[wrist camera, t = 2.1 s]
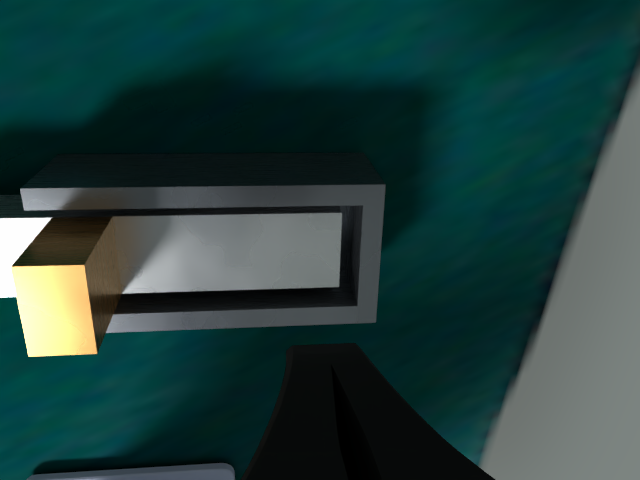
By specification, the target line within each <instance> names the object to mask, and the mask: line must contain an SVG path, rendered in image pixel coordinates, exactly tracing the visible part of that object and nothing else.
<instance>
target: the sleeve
mask: <svg viewBox="0 0 640 480" xmlns="http://www.w3.org/2000/svg"><path fill="white" fill-rule="evenodd" d="M385 186H386V184H385V183H384V181H383V180H382V178H381V177H380V176H379V174H378V173H377V171H376V170H375V168H374V167H373V165H372V164H371V162H370V161H369V160H368V158H367V157H366V155H365V154H364V153H202V154H58V155H57V156H56V157H55V158H54V159H53V160H51V161H50V162H49V163H48V164H47V165H46V166H45V167H44V168H42V169H41V170H40V171H39V172H38V173H37V174H36V175H35V176H34V177H32V178H31V179H30V180H29V181H28V182H27V183H26V184H25V185H23V186H22V187H21V188H20V191H21V197H22V202H23V208H24V210H89V209H155V208H221V207H287V206H340V209H341V211H342V228H341V252H340V277H339V287H321V288H289V289H256V290H223V291H190V292H157V293H124V294H121V297H120V299H119V302H118V304H117V307H116V309H115V311H114V314H113V316H112V319H111V321H110V324H109V326H108V329H107V331H106V333H113V332H140V331H167V330H194V329H220V328H247V327H274V326H301V325H327V324H354V323H376V315H377V300H378V286H379V272H380V258H381V243H382V229H383V215H384V201H385Z"/></svg>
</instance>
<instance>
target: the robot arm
mask: <svg viewBox="0 0 640 480" xmlns="http://www.w3.org/2000/svg"><path fill="white" fill-rule="evenodd" d="M27 480H235V471H234V468H233V467H232V466H231V465H229V464H227V463H213V464H196V465H180V466H164V467H148V468H132V469H116V470H100V471H84V472H67V473H51V474H36V475H32V476H30V477H29V478H27ZM241 480H495V479H494V478H492V477H491V476H490V475H488V474H487V473H486V472H484V471H483V470H482V469H480V468H479V467H478V466H477V465H475V464H474V463H473V462H472V461H470V460H469V459H468V458H466V457H465V456H464V455H463V454H461V453H460V452H459V451H457V450H456V449H455V448H454V447H453V446H452V445H450V444H449V443H448V442H447V441H446V440H445V439H444V438H443V437H441V436H440V435H439V434H438V433H437V432H436V431H435V430H434V429H433V428H432V427H431V426H430V425H429V424H428V423H427V422H426V421H425V420H424V419H423V418H422V417H421V416H420V415H419V414H418V413H417V412H416V411H415V410H414V409H413V408H412V407H411V406H410V405H409V404H408V403H407V402H406V401H405V400H404V399H403V398H402V397H401V396H400V395H399V393H398V392H397V391H396V390H395V389H394V388H393V387H392V386H391V385H390V383H389V382H388V381H387V380H386V379H385V378H384V376H383V375H382V374H381V373H380V372H379V371H378V369H377V368H376V367H375V366H374V365H373V363H372V362H371V361H370V360H369V358H368V357H367V356H366V355H365V353H364V352H363V351H362V350H361V348H360V347H359V346H358V345H357V344H356V343H344V344H319V345H295V346H291V347H290V348H289V349H288V350H287V351H286V370H285V375H284V379H283V383H282V387H281V390H280V393H279V396H278V399H277V402H276V405H275V408H274V411H273V413H272V416H271V419H270V421H269V423H268V426H267V428H266V430H265V432H264V435H263V437H262V439H261V441H260V444H259V446H258V448H257V450H256V452H255V454H254V456H253V458H252V460H251V462H250V464H249V466H248V468H247V469H246V471H245V473H244V475H243V477H242V478H241Z"/></svg>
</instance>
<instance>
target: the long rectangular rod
mask: <svg viewBox="0 0 640 480" xmlns="http://www.w3.org/2000/svg"><path fill="white" fill-rule="evenodd" d="M341 228H342V211H341V209H340V206H287V207H221V208H155V209H89V210H24V208H23V202H22V197H21V195H0V297H17V301H18V306H19V311H20V316H21V321H22V326H23V331H24V337H25V342H26V347H27V352H28V357H31V356H55V355H80V354H97V353H98V351H99V348H100V346H101V343H102V341H103V338H104V336H105V333H106V331H107V329H108V326H109V324H110V321H111V319H112V316H113V314H114V311H115V309H116V307H117V304H118V302H119V299H120V297H121V294H124V293H157V292H190V291H223V290H256V289H289V288H321V287H339V277H340V252H341Z"/></svg>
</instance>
